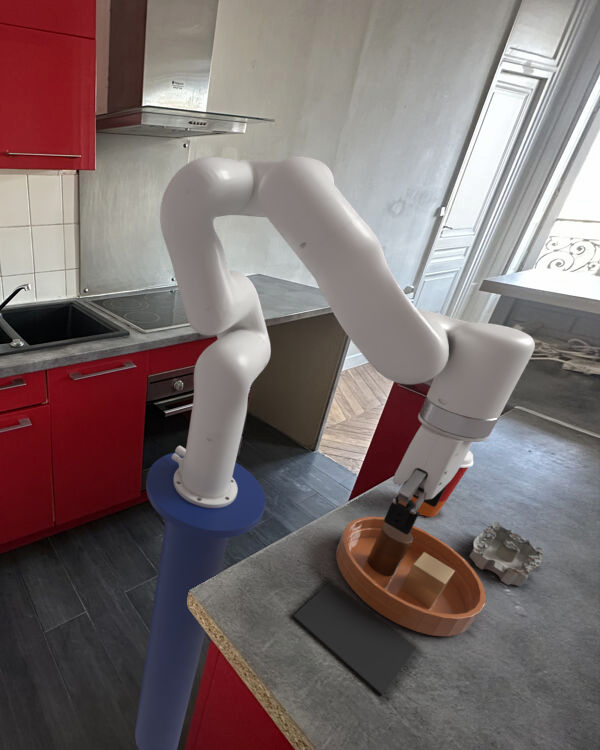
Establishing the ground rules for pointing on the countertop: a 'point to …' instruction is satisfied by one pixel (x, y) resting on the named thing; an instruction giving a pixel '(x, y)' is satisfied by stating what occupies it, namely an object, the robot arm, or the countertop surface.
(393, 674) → the mat
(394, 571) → the walnut cylinder
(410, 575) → the birch block
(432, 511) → the paper cup
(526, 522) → the countertop surface
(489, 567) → the egg carton
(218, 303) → the robot arm
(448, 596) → the pan
